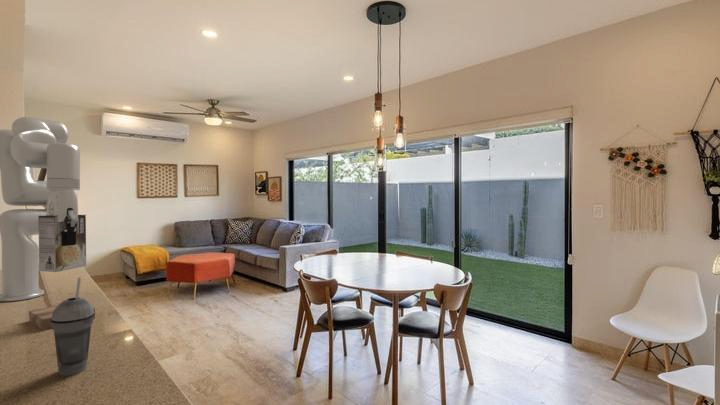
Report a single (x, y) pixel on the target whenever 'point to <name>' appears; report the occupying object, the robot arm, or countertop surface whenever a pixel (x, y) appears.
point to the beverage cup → (72, 333)
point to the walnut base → (43, 317)
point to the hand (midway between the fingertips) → (63, 243)
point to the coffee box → (60, 245)
